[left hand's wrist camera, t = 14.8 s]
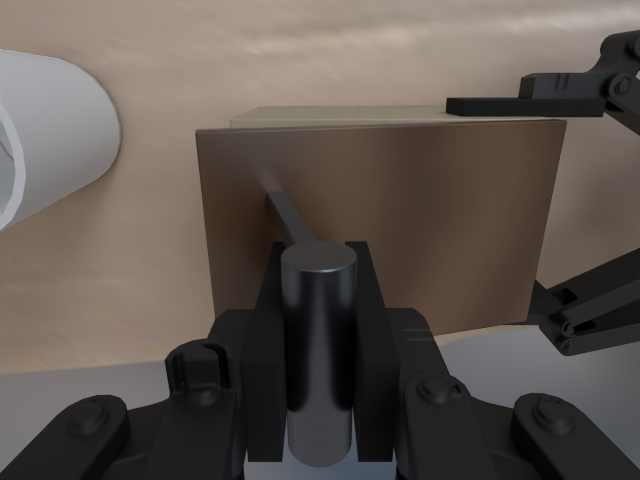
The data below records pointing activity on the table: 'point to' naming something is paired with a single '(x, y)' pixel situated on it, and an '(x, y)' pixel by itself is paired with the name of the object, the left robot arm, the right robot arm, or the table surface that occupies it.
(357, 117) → the chest
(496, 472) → the left robot arm
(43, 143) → the mug
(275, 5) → the table surface
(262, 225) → the lid
